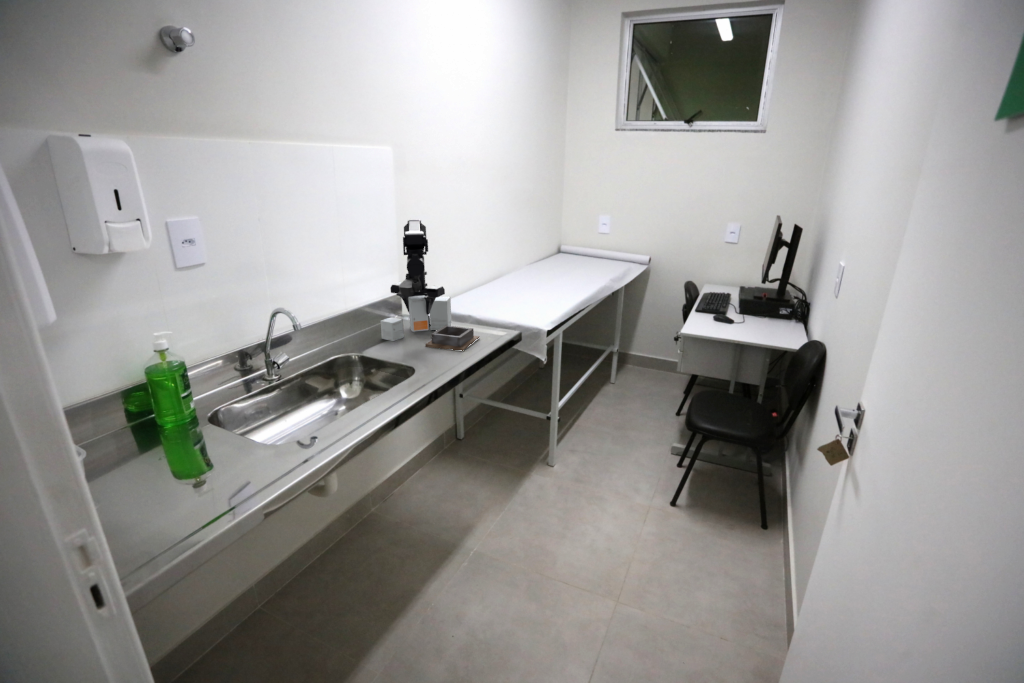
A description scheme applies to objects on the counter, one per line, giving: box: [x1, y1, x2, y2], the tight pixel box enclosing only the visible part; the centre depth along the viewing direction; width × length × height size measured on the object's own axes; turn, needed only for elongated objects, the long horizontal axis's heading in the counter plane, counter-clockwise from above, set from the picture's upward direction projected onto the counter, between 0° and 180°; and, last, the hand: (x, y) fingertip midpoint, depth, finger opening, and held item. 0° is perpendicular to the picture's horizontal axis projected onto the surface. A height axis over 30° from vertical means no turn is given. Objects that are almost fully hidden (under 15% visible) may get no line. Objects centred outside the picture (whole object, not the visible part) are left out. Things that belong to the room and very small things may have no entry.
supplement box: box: [429, 296, 452, 331], centre depth 202 cm, size 7×7×13 cm
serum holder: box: [424, 325, 480, 352], centre depth 188 cm, size 15×15×4 cm
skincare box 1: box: [380, 317, 405, 342], centre depth 192 cm, size 6×6×7 cm
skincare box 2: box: [408, 295, 430, 333], centre depth 179 cm, size 6×4×12 cm
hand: (418, 313), depth 179 cm, fingers closed on skincare box 2, 7 cm apart
